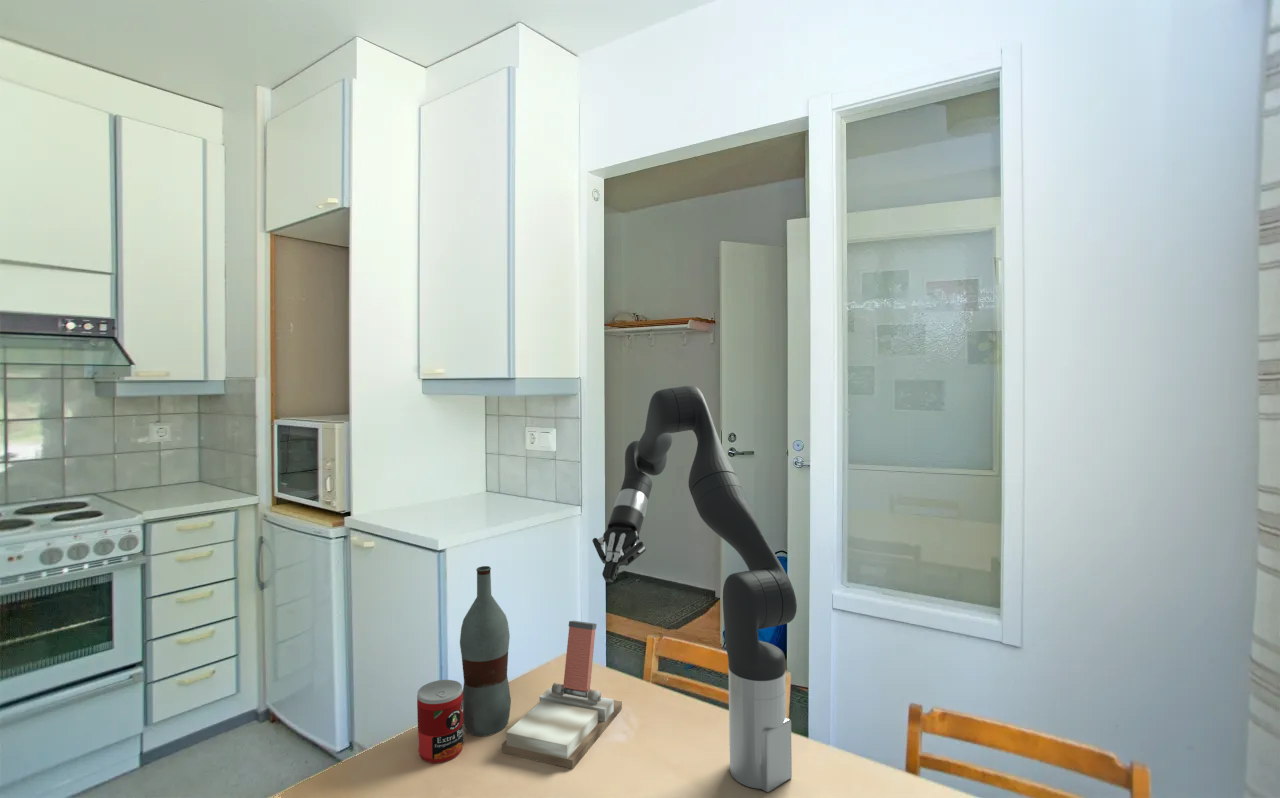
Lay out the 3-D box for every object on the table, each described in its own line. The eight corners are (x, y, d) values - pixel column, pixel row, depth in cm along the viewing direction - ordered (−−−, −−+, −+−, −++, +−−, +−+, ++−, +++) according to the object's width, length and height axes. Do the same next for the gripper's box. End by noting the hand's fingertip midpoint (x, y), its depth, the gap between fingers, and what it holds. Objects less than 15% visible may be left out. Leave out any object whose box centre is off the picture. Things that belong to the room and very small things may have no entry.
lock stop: (566, 692, 123) (573, 620, 126) (589, 697, 121) (596, 623, 124) (561, 694, 122) (569, 621, 125) (585, 699, 120) (592, 624, 123)
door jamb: (559, 697, 130) (559, 669, 130) (621, 709, 125) (621, 679, 125) (501, 752, 110) (501, 719, 110) (572, 769, 105) (572, 734, 105)
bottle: (488, 707, 126) (485, 558, 126) (521, 720, 121) (518, 565, 121) (450, 729, 118) (447, 570, 118) (485, 743, 113) (481, 577, 113)
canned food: (436, 769, 106) (434, 704, 105) (408, 753, 110) (407, 691, 110) (473, 748, 112) (472, 687, 112) (445, 734, 117) (444, 675, 116)
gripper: (598, 502, 147) (574, 568, 136) (651, 505, 142) (631, 574, 131) (607, 520, 152) (586, 585, 141) (659, 523, 147) (641, 591, 136)
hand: (607, 580), depth 136 cm, fingers closed
